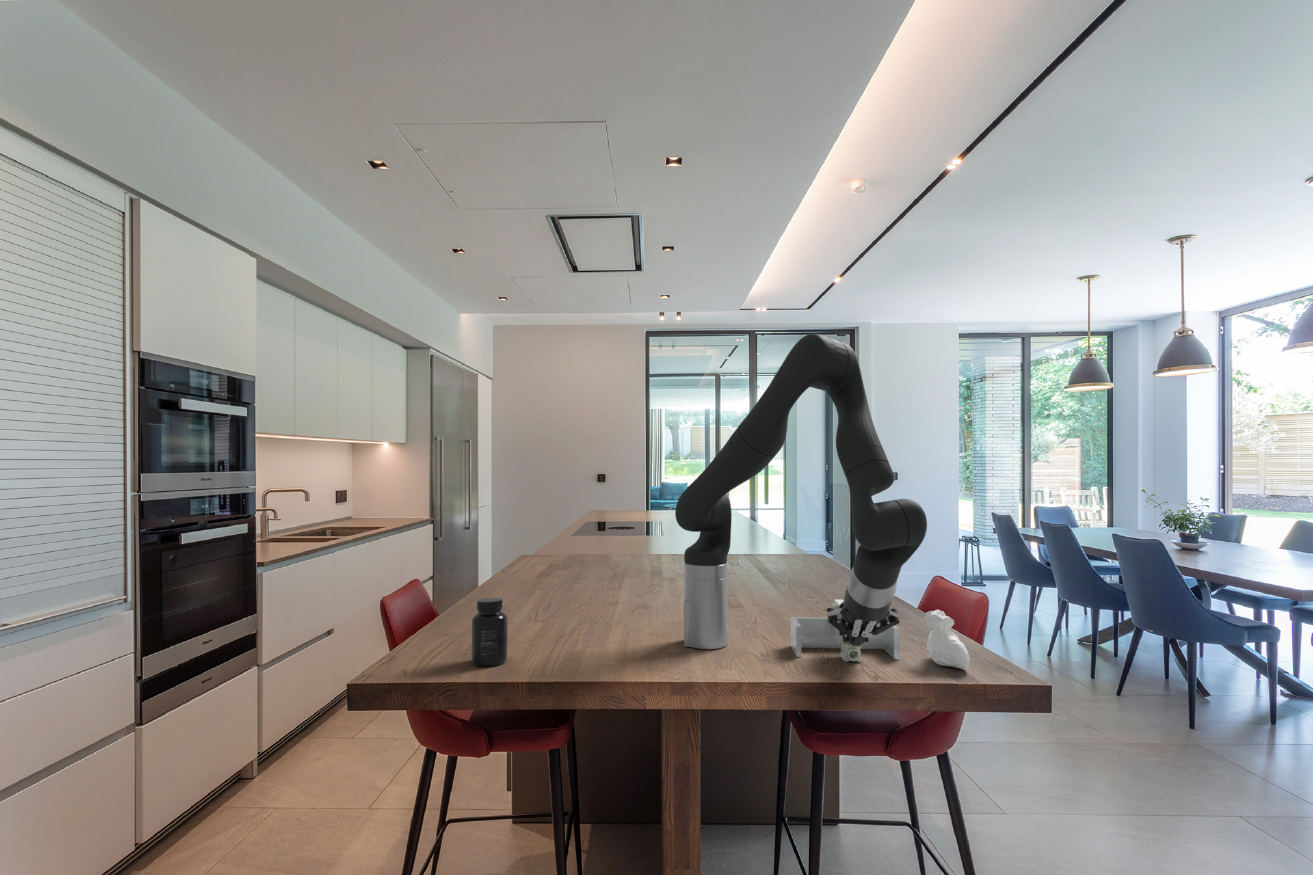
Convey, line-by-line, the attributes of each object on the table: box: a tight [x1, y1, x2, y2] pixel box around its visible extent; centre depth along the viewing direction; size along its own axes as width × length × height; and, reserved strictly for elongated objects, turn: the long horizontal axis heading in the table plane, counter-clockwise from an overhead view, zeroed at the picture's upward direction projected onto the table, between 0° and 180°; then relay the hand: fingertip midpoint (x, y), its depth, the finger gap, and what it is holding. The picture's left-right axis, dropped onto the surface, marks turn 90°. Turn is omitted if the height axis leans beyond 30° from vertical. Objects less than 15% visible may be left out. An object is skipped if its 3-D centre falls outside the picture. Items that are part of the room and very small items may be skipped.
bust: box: [924, 609, 971, 671], centre depth 117 cm, size 12×8×11 cm
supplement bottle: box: [470, 597, 509, 668], centre depth 118 cm, size 7×7×12 cm
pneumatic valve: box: [831, 598, 868, 663], centre depth 120 cm, size 6×12×12 cm, turn 175°
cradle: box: [790, 616, 901, 661], centre depth 124 cm, size 20×8×6 cm, turn 85°
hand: (855, 641), depth 114 cm, fingers closed
